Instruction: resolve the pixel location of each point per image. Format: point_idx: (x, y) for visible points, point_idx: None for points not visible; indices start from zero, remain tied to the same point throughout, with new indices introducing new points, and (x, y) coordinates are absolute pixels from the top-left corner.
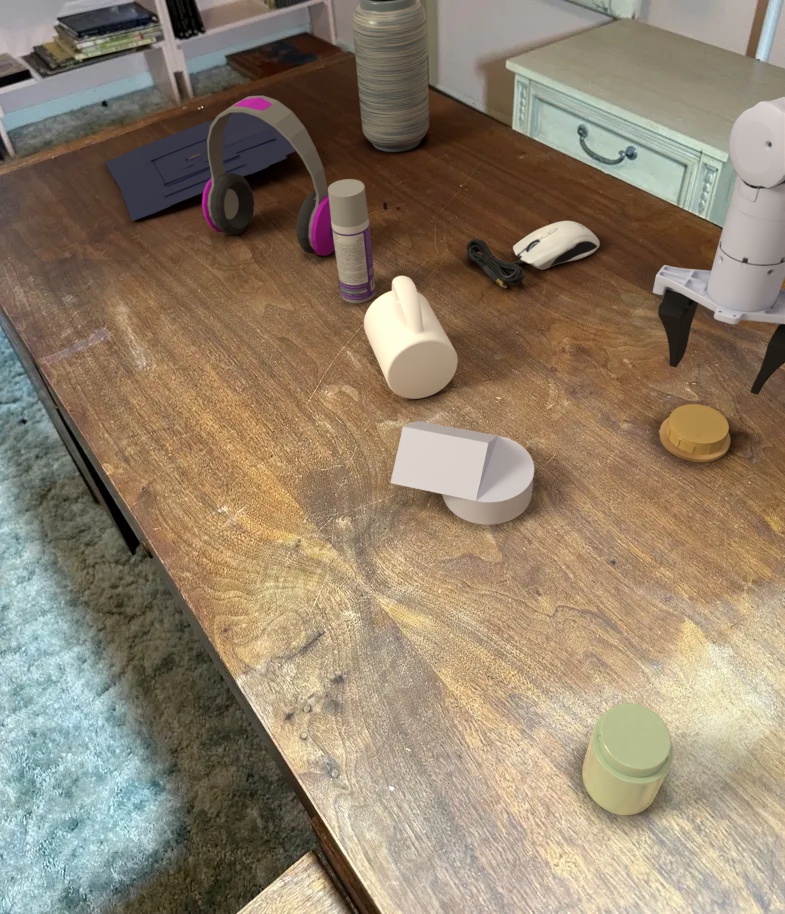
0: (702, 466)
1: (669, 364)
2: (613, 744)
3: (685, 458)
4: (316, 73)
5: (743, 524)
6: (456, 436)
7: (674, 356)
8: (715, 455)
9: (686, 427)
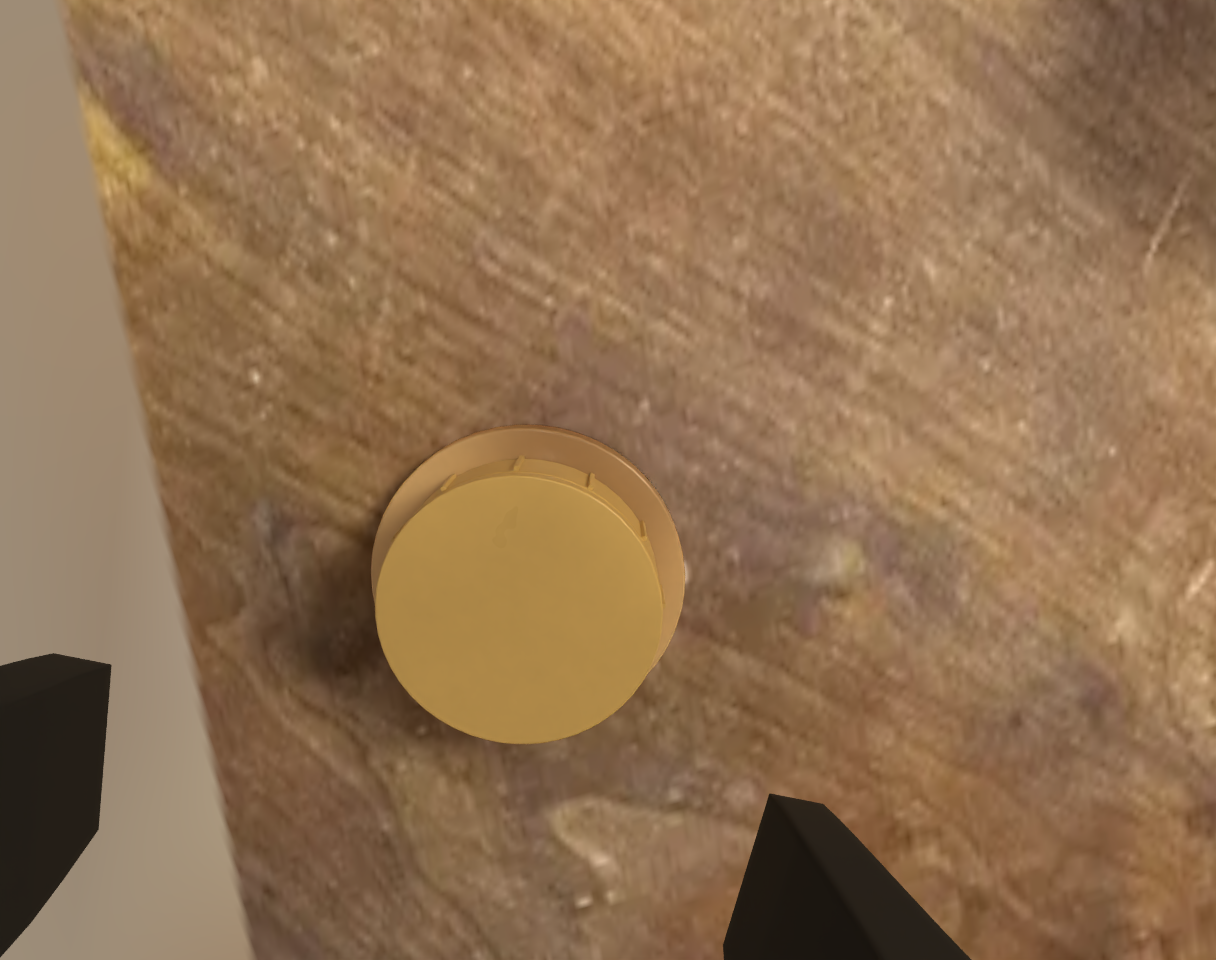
0: (465, 411)
1: (831, 815)
2: None
3: (545, 426)
4: None
5: (227, 94)
6: None
7: (850, 873)
8: (418, 480)
9: (571, 567)
